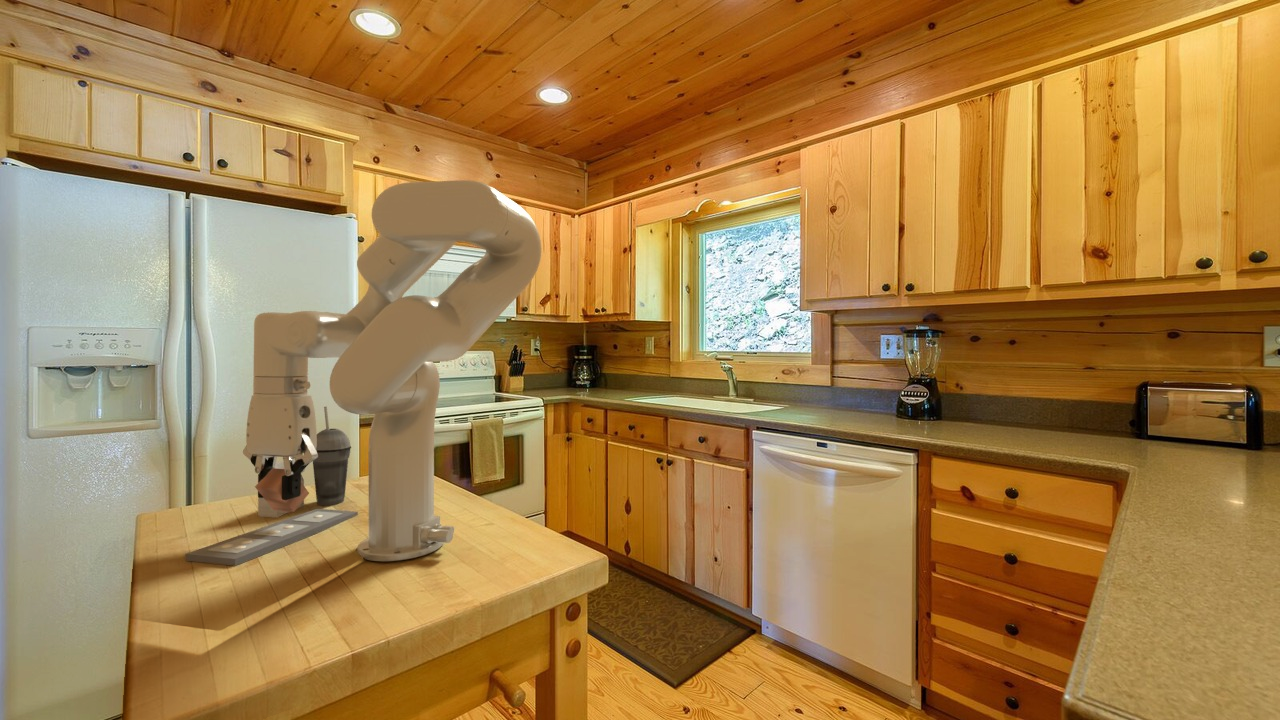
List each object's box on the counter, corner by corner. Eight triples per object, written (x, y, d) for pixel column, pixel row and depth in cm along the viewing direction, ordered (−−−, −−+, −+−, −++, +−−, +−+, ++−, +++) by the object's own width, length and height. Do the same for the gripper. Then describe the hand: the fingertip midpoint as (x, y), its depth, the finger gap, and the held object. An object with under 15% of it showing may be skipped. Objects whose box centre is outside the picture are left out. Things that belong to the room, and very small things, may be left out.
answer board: (357, 517, 100) (357, 510, 100) (235, 565, 77) (235, 557, 77) (316, 513, 102) (316, 507, 102) (185, 560, 79) (185, 552, 79)
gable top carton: (303, 509, 105) (303, 458, 105) (276, 520, 98) (276, 465, 98) (286, 509, 105) (286, 458, 105) (258, 519, 99) (258, 465, 99)
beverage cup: (332, 512, 103) (332, 408, 103) (300, 510, 104) (300, 407, 104) (359, 502, 110) (359, 405, 110) (329, 500, 112) (328, 404, 111)
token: (309, 493, 93) (292, 469, 89) (293, 512, 90) (275, 488, 86) (289, 491, 94) (272, 468, 90) (273, 510, 91) (254, 486, 87)
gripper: (341, 387, 91) (339, 495, 91) (260, 384, 95) (258, 488, 95) (304, 390, 84) (302, 507, 84) (218, 386, 87) (216, 498, 87)
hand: (279, 495), depth 89 cm, fingers closed on token, 4 cm apart
